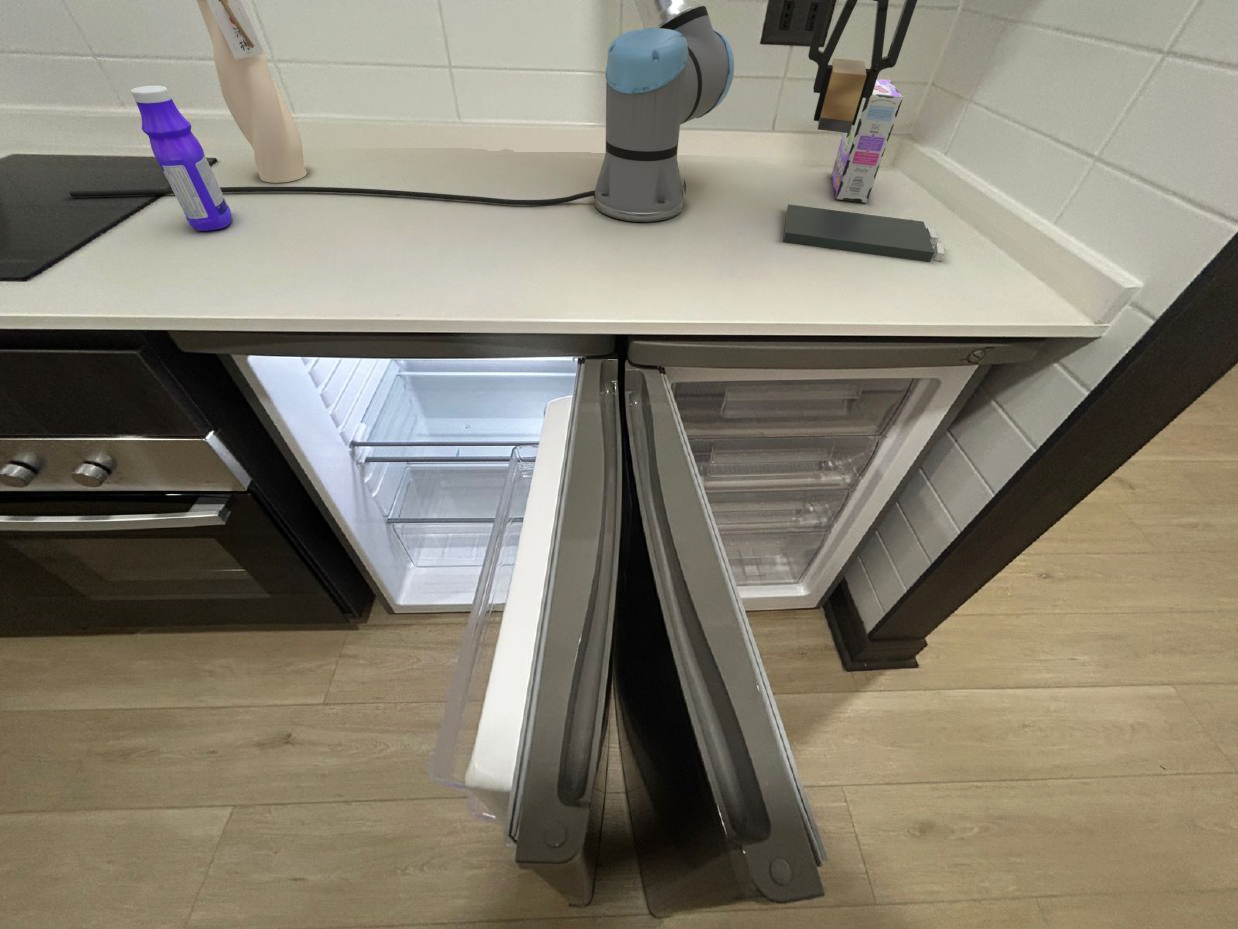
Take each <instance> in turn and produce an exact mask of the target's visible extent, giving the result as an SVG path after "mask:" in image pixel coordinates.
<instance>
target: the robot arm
mask: <svg viewBox="0 0 1238 929" xmlns="http://www.w3.org/2000/svg"><path fill="white" fill-rule="evenodd" d="M631 1H632V4H633V6H634V9H635V12H636V15H637V17H638V20H639V23H640V26H641V29H634V30H629V31H626V32H623V33H621V34H619V35H618V36H616V37H615V38H614V39H612V41H611V42H610V44H609V46H608V49H607V59H606V67H605V73H604V74H605V75H604V76H605V83H606V84H605V85H606V87H605V88H606V89H605V152H604V158H603V160H602V161H603V162H602V163H601V164H602V165H601V167H600V171H599V174H598V177H597V181H596V184H595V188H594V190H590V191H589V190H588V191H585V192H580V193H576V194H572V195H569V196H564V197H563V196H562V197H557V198H546V199H545V198H543V199H511V198H510V199H509V198H508V199H507V198H497V197H487V196H486V197H485V196H476V195H462V194H452V193H451V194H449V193H436V192H425V191H424V192H423V191H410V190H395V189H379V188H358V187H337V186H336V187H334V186H332V187H330V186H219V187H220V189H221V191H222V193H225V194H226V193H333V194H357V195H358V194H360V195H378V196H379V195H380V196H395V197H396V196H397V197H411V198H425V199H436V200H449V201H462V202H463V201H464V202H475V203H487V204H497V205H509V206H548V205H557V204H565V203H571V202H574V201H577V200H582V199H585V198H590V197H593V204H594V207H595V208H596V209H597V210H598V211H599V212H600V213H602V214H603V215H606V216H608V217H610V218H613V219H617V220H622V221H627V222H634V223H635V222H636V223H650V222H660V221H664V220H668V219H671V218H674V217H675V216H677V215H679V214H680V213H681V212H682V210H683V207H684V194H686V193H687V192H686V191H687V182H686V180H685V178H683V183H682V179H681V173H680V169H679V168H680V167H679V162H678V149H679V140H680V139H679V138H680V132H681V131H680V129H681V125H683V124H685V123H687V122H690V121H692V120H694V119H699V118H702V117H704V116H706V115H707V114H709V113H710V112H712V111H713V110H714V109H716V108H717V107H718V106H719V105H720V104H721V103H722V102H723V101H724V100H725V98H726V97H727V95H728V93H729V91H730V89H731V86H732V83H733V81H734V80H733V79H734V75H735V74H734V73H735V57H734V53H733V49H732V47H731V44H730V43H729V41H728V39H727V38H726V37H725V36H724V35H723V33H720V32H719V31H717V30H716V29H714V28H713V25H712V22H711V19H710V16H709V12H708V9H707V6H706V4H705V3H704V2H701V1H699V0H631ZM858 1H859V0H845V2H844V4H843V6H842V9H841V11H840V13H839V16H838V18H837V20H836V22H835V24H834V27H833V29H832V31H831V34H830V36H829V38H828V40H827V43H826V45H825V47H824V49H823V51H822V50H820V45H821V41H822V36H823V33H824V28H825V24H826V19H827V15H828V10H829V7H830V2H831V0H819V5H818V11H817V14H816V17H815V18H816V19H815V24H814V27H813V31H812V38H811V42H810V45H809V50H808V56H807V57H808V59H809V60H810V61H813V62H814V63H816V65H817V71H816V76H815V79H814V83H813V90H812V91H813V93H814V94H819V96H818V99H817V103H816V107H815V111H814V115H813V122H818V121H819V118H820V114H821V110H822V106H823V103H824V99H825V95H826V91H827V87H828V83H829V79H830V76H831V72H832V64H829V63H830V62H831V59H832V56H833V55H834V52H835V50H836V48H837V45H838V44H839V42H840V39H841V37H842V34H843V33H844V30H845V28H846V26H847V24H848V22H849V19H850V18H851V15H852V13H853V10H854V9H855V7H856V5H857V3H858ZM872 1H873V2H876V13H875V22H874V32H873V41H872V50H871V60H870V66H869V67H870V68H866V67H865V69H866V75H867V76H866V79H865V82H864V86H863V89H862V92H861V96H860V99H859V102H858V106H857V109H856V112H855V116H854V119H853V123H852V125H854V126H855V122H856V119H857V116H858V113H859V109H860V106H861V103H862V99H863V98H870V97H871V95H872V93H873V90H874V87H875V84H876V80H877V79H878V77H879V74H880V73H881V72H882V71H884V70H887V69H893V68H894V67H895V66H896V65H897V62H898V59H899V57H900V53H901V50H902V47H903V44H904V41H905V38H906V36H907V32H908V29H909V27H910V24H911V22H912V21H911V20H912V18H913V15H914V13H915V8H916V5H917V3H918V0H904V3H903V6H902V9H901V12H900V15H899V18H898V21H897V25H896V26H895V30H894V33H893V36H892V39H891V43H890V46H889V48H888V51H887V54H886V56H883V53H884V44H885V36H886V35H885V34H886V26H887V17H888V9H889V2H890V0H872ZM69 195H70V196H71V197H72V198H82V197H84V198H86V197H87V198H89V197H120V196H121V197H123V196H151V195H152V196H155V195H175V194H174V192H173V190H172V188H148V189H147V188H146V189H143V188H142V189H112V190H70V191H69Z"/></svg>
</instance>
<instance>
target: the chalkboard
mask: <svg viewBox="0 0 1238 929" xmlns="http://www.w3.org/2000/svg"><path fill="white" fill-rule="evenodd" d="M786 208H787V209H786V212H785V219H784V220H785V221H784V232H783V242H784V243H790V244H796V245H797V244H798V245H805V246H811V247H817V248H825V249H826V248H827V249H835V250H841V251H847V252H854V253H863V254H869V255H870V254H871V255H877V256H884V257H892V258H899V259H907V260H913V261H920V262H928V263H930V262H931V261H932V259H933V258H934V250H933V249H934V247H933V245H932V244H931V241H930V238H929V235H928V232H927V230H926V229H927V227H926V223H925V221H923V220H914V219H907V218H898V217H892V216H891V217H890V216H883V215H876V214H875V215H874V214H866V213H858V212H852V211H843V210H835V209H828V208H821V207H813V206H804V205H798V204H797V205H796V204H790V203H789V204H788V205H787V207H786Z"/></svg>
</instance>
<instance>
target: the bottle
mask: <svg viewBox="0 0 1238 929" xmlns="http://www.w3.org/2000/svg"><path fill="white" fill-rule="evenodd" d="M130 93H131V95H132V97H133V99H134V101H135V104H136V105H137V108H138V110H139V113H140V118H141V130H142V132H143V133H144V134H146V135H147V136H148V138H149V143H150V148H151V151H152V154H153V155H154V158H155V160H156V161H157V163H158V165H159V166H160V169H161V170H162V172H163V174H164V176H165V178H166V180H167V183H168V184H169V186H170V187H171V188H170V189H172V190H173V192H174V194H173V195H174V196H175V198H176V200H177V202H178V204H179V206H180V208H181V210H182V212H183V214H184V216H185V219H186V221H187V222H188V224H189V225H190V226H191V227H192V228H193V229H195V230H196V231H198V232H199V231H201V232H202V231H204V232H205V231H206V232H207V231H215V230H221V229H224V228H227V226H229V225H230V224H231V222H232V218H233V216H232V211H231V208H230V206H229V204H228V202H227V200H226V197H225V196H224V194H223V193H222V191H221V189H220V187H221V186H220V185H219V182H218V181H217V178H216V176H215V174H214V172H213V170H212V167H211V165H210V164H209V161H208V159H207V157H206V154H205V152H204V148H203V147H202V145H201V143H200V141H199V140H198V138H197V137H196V136H195V135H194V133H193V132H192V124H191V122H190V121H188V120H187V118H185V116H184V115H183V114H182V113H181V112H180V111H179V109H178V108H177V105H176V104H175V102H174V101H173V98H172V96H171V94H170V92H169V90H168V88H167V87H166V86H163V85H143V86H137V87H134V88H131V89H130Z"/></svg>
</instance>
